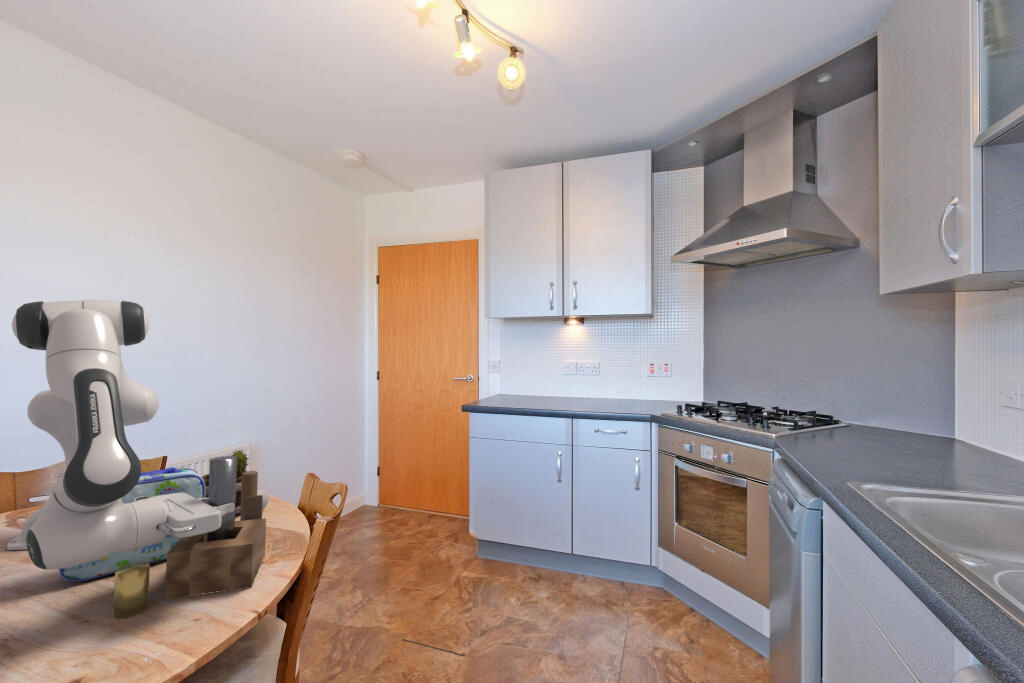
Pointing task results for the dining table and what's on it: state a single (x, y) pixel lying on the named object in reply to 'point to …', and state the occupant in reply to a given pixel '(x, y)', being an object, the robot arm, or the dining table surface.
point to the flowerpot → (240, 469)
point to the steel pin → (222, 494)
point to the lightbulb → (264, 499)
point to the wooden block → (250, 497)
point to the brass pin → (131, 589)
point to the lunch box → (150, 486)
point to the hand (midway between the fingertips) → (226, 503)
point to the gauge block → (216, 561)
